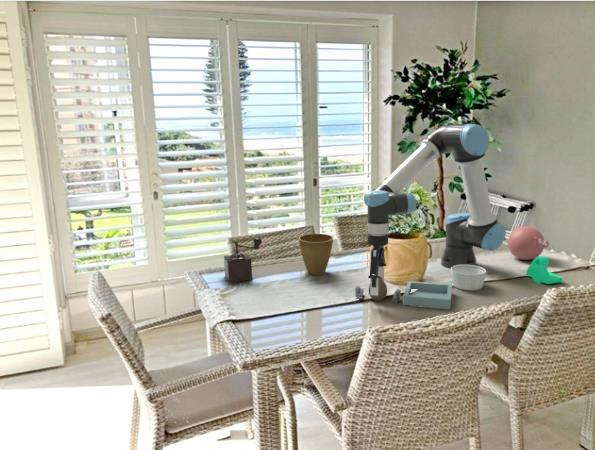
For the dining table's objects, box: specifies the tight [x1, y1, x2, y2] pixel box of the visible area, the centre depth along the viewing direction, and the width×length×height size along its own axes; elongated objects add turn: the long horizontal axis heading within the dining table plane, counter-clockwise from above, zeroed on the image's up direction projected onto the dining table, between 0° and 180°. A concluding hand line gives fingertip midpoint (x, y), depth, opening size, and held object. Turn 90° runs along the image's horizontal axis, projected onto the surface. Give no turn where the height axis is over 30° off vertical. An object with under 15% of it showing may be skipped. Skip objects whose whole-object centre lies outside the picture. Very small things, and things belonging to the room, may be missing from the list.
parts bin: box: [402, 280, 453, 310], centre depth 189 cm, size 16×16×4 cm
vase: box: [368, 276, 388, 302], centre depth 190 cm, size 7×7×9 cm
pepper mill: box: [223, 237, 263, 283], centre depth 219 cm, size 16×11×18 cm
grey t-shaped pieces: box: [354, 285, 402, 305], centre depth 191 cm, size 6×17×4 cm, turn 72°
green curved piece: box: [525, 255, 563, 285], centre depth 204 cm, size 12×8×10 cm, turn 16°
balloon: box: [507, 225, 550, 261], centre depth 229 cm, size 15×20×15 cm
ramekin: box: [450, 265, 487, 291], centre depth 201 cm, size 13×13×7 cm
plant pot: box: [298, 233, 334, 276], centre depth 222 cm, size 15×15×16 cm
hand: (377, 288), depth 190 cm, fingers open, 13 cm apart
